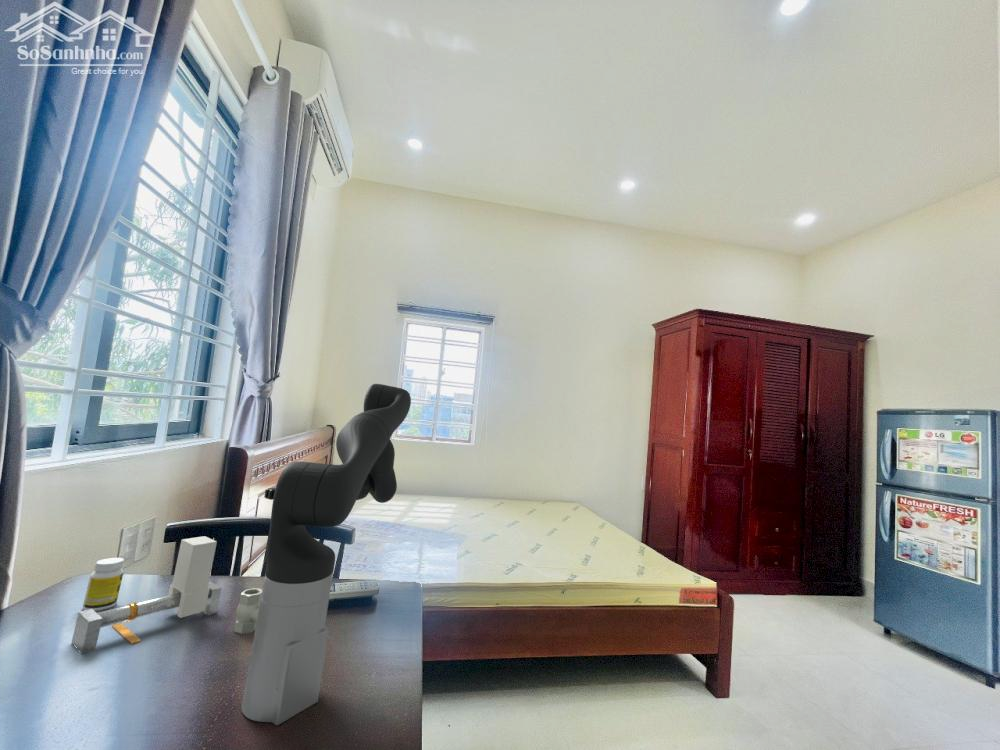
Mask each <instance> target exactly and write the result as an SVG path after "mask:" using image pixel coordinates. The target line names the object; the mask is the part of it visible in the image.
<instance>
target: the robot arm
mask: <svg viewBox="0 0 1000 750" xmlns="http://www.w3.org/2000/svg"><path fill="white" fill-rule="evenodd" d="M411 402H412V399H411V395H410V393H409V391H407V390H406V389H403V388H401V387H397V386H391V385H387V384H383V383H382V384H381V383H373V384H371V385H370V386H369V387H368V389H367V391H366V393H365V397H364V399H363V411H362V412H359V413H358V414H356V415H354V416H353V417H352V418H351V419H350V420H349V421H347V423H346V424H345V425H343V427H342V428H341V429H340V431H339V433H337V436H336V441H335V446H336V451H337V455H338V458H339V460H340V461H341V464H331V463H320V462H309V461H293V462H291V463H289V464H288V465H287V466H286V467H285V468H284V469H283V470H282V471H281V473H280V475H279V477H278V480H277V482H276V486H275V487H270V488H265V491H264V498H265V499H266V500H271V501H272V506H271V516H270V522H269V531H268V538H267V546H266V552H265V553H266V568H265V572H264V580H263V585H262V588H261V589H262V595H261V600H260V605H259V611H258V617H257V622H256V628H255V630H254V633H253V634H254V635H253V640H252V646H251V651H250V657H249V661H248V668H247V673H246V680H245V684H244V690H243V696H242V700H241V706H240V707H241V712H242V714H243V715H244V716H245V717H246V718H247V719H249V720H251V721H254V722H260V723H272V724H274V725H275V726H279V725H280V724H282V723H284V722H286V721H288V720H290V719H291V718H292V717H294V716H296V715H298V714H299V713H301V712H303V711H305V710H306V709H307V708H310V707H311V706H313V705H314V704H316V703H318V702H319V696H320V690H321V684H322V678H323V677H322V676H323V671H324V663H325V656H326V652H327V644H328V636H329V631H328V629H325V627H326V622H327V621H326V620H327V614H328V608H329V602H330V601H329V600H330V597H331V596H330V594H331V588H332V583H333V575H334V570H335V569H334V568H335V563H336V553H335V551H334V550H333V549H332V548H331V547H330V546H328V545H326V544H324V543H322V542H321V541H319V540H317V539H316V538H314V537H313V536H312V535H311V534H310V533H309V532H308V530H307V529H306V526H309V527H322V528H333V527H337V526H339V525H341V524H343V522H345V520H346V519H347V518H348V517H349V515H350V513H351V512H352V510H353V508H354V506H355V503H356V501H359V500H363V499H365V498H366V497H368V495H369V494H370V495H371V498H373V499H374V500H375V501H376V503H377V502H378V503H381V504H384V503H388V502H389V501H391V500H392V499H393V498H394V496H395V494H396V493H397V489H398V488H397V487H398V484H397V479H396V478H397V477H396V472H395V468H394V465H395V455H396V454H395V447H394V444H393V442H392V440H391V438H392V435H393V434H394V432H395V431H396V430H398V428H399V427H400V426H401V425H402V424H403V422H404V421H405V420H406V418H407V416H408V414H409V411H410V409H411V406H412V405H411V404H412V403H411Z"/></svg>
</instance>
